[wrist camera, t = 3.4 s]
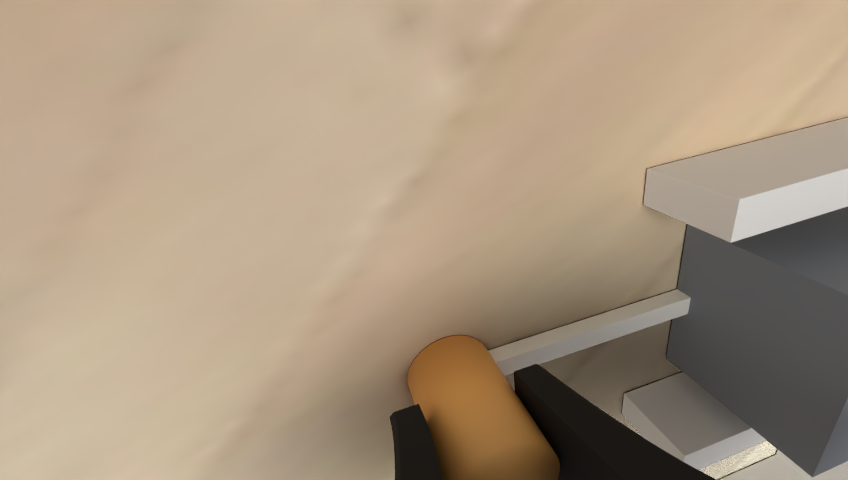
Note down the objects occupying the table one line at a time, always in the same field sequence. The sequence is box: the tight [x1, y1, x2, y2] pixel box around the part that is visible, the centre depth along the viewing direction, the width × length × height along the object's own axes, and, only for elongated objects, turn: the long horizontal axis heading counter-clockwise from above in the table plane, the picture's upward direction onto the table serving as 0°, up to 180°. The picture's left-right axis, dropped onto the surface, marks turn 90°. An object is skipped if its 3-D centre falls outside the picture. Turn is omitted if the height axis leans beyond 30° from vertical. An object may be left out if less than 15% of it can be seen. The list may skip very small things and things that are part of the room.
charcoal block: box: [408, 206, 848, 480], centre depth 11 cm, size 5×14×4 cm, turn 98°
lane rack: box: [622, 117, 848, 480], centre depth 12 cm, size 25×10×2 cm, turn 8°
